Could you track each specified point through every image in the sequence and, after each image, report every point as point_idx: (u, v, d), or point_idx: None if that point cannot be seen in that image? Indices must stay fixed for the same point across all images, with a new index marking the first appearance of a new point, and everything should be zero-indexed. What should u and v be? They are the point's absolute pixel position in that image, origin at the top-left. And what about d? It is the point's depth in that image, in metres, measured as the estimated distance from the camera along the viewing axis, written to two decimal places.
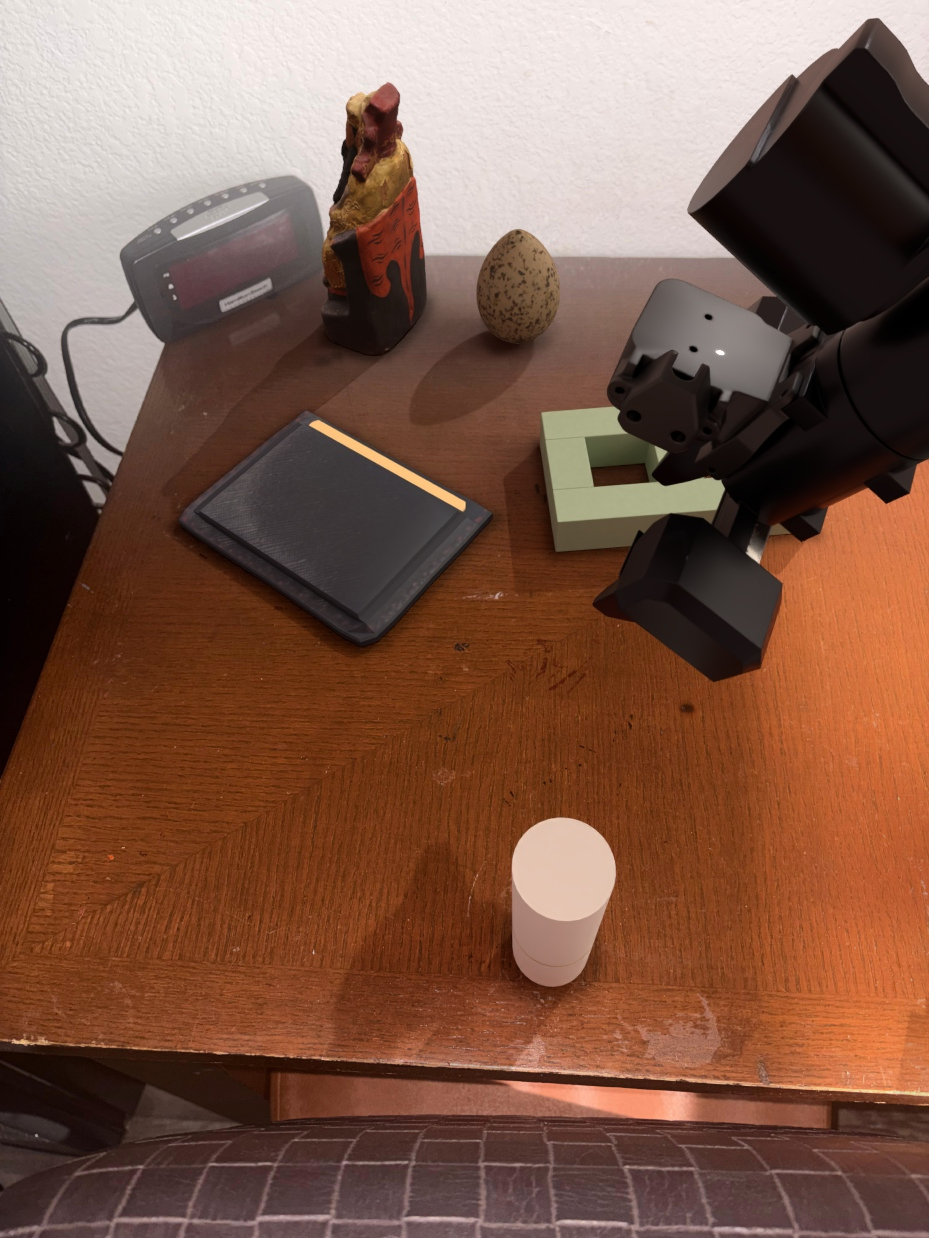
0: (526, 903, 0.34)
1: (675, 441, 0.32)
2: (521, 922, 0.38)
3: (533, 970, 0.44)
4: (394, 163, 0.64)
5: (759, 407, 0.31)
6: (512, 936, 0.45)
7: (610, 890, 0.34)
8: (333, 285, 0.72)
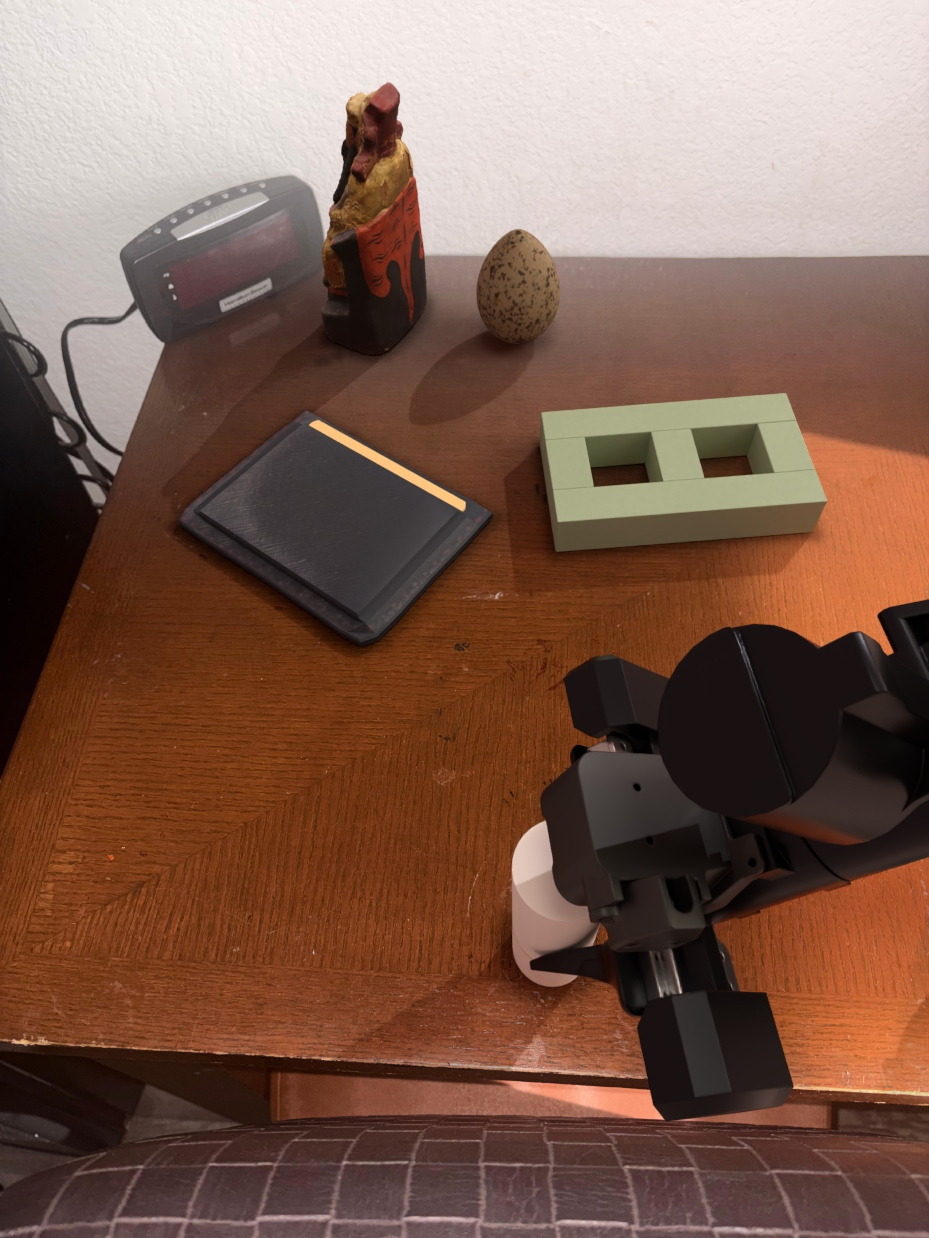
0: (526, 904, 0.34)
1: (671, 945, 0.30)
2: (521, 922, 0.38)
3: (533, 970, 0.44)
4: (394, 163, 0.64)
5: (725, 872, 0.31)
6: (512, 936, 0.45)
7: None
8: (333, 285, 0.72)
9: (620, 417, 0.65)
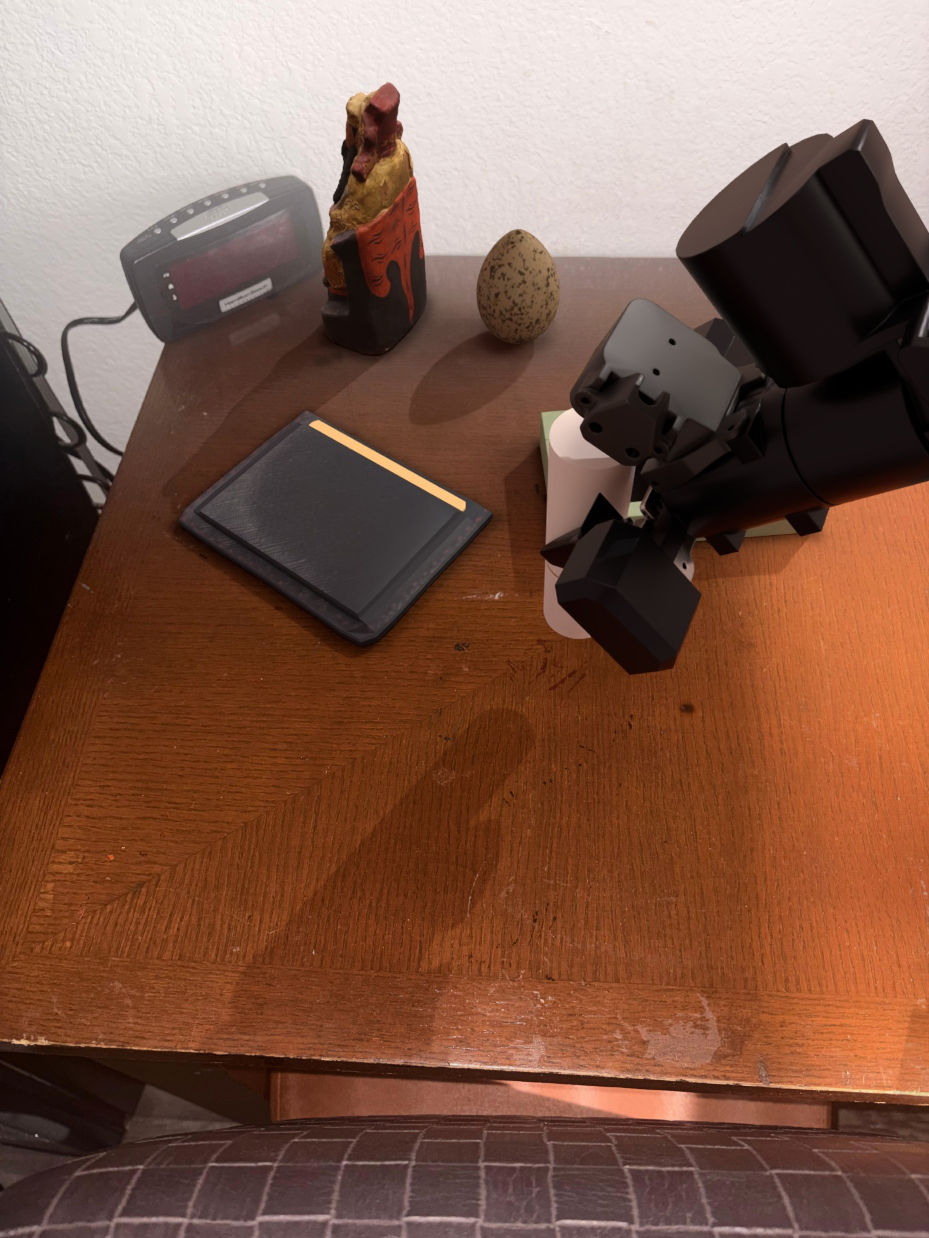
0: (550, 444, 0.40)
1: (628, 456, 0.34)
2: (547, 496, 0.44)
3: (548, 595, 0.50)
4: (394, 163, 0.64)
5: (707, 435, 0.34)
6: None
7: (619, 463, 0.39)
8: (333, 285, 0.72)
9: None
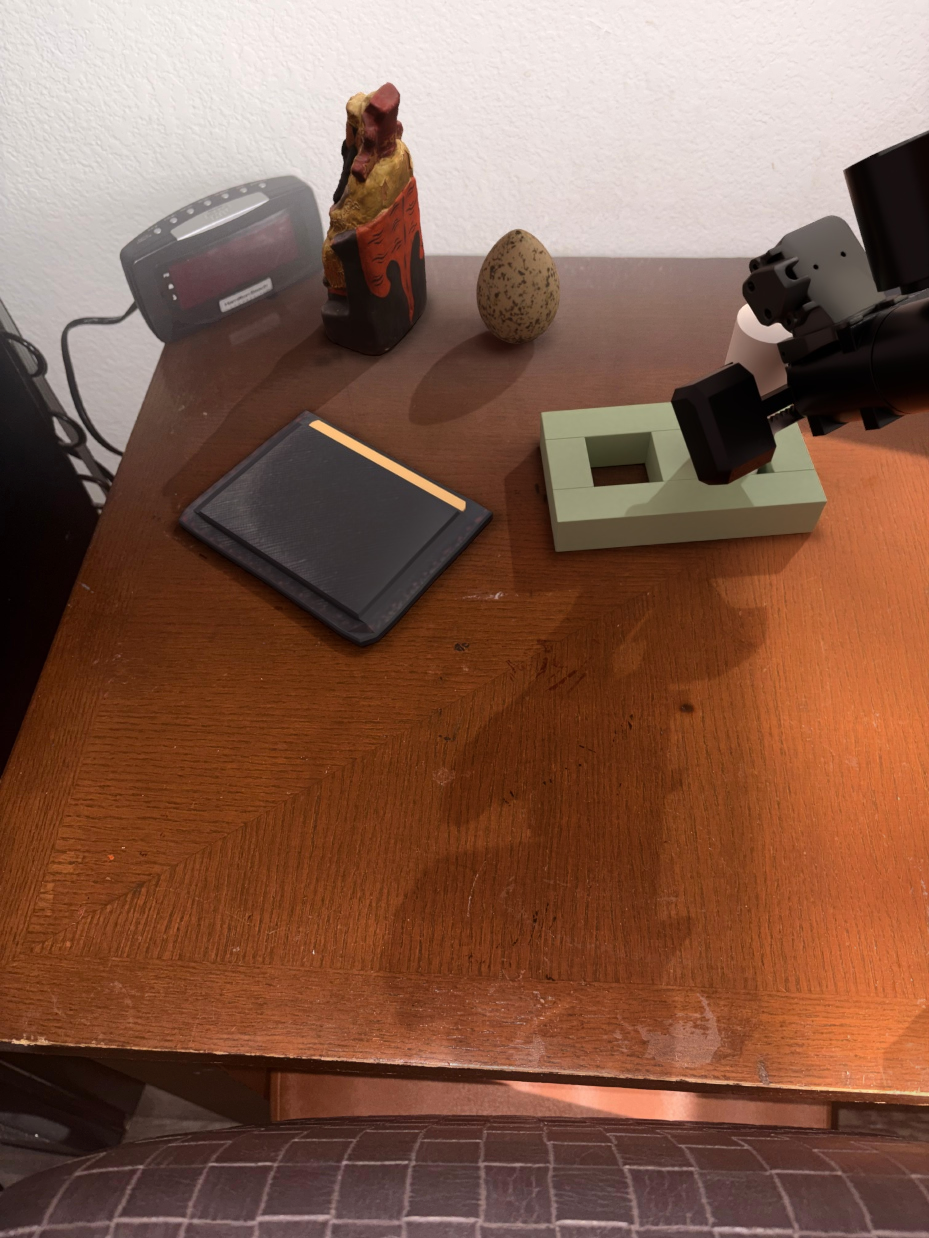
0: (738, 314, 0.53)
1: (765, 316, 0.47)
2: None
3: None
4: (394, 163, 0.64)
5: (828, 324, 0.46)
6: None
7: (776, 342, 0.51)
8: (333, 285, 0.72)
9: (620, 417, 0.65)
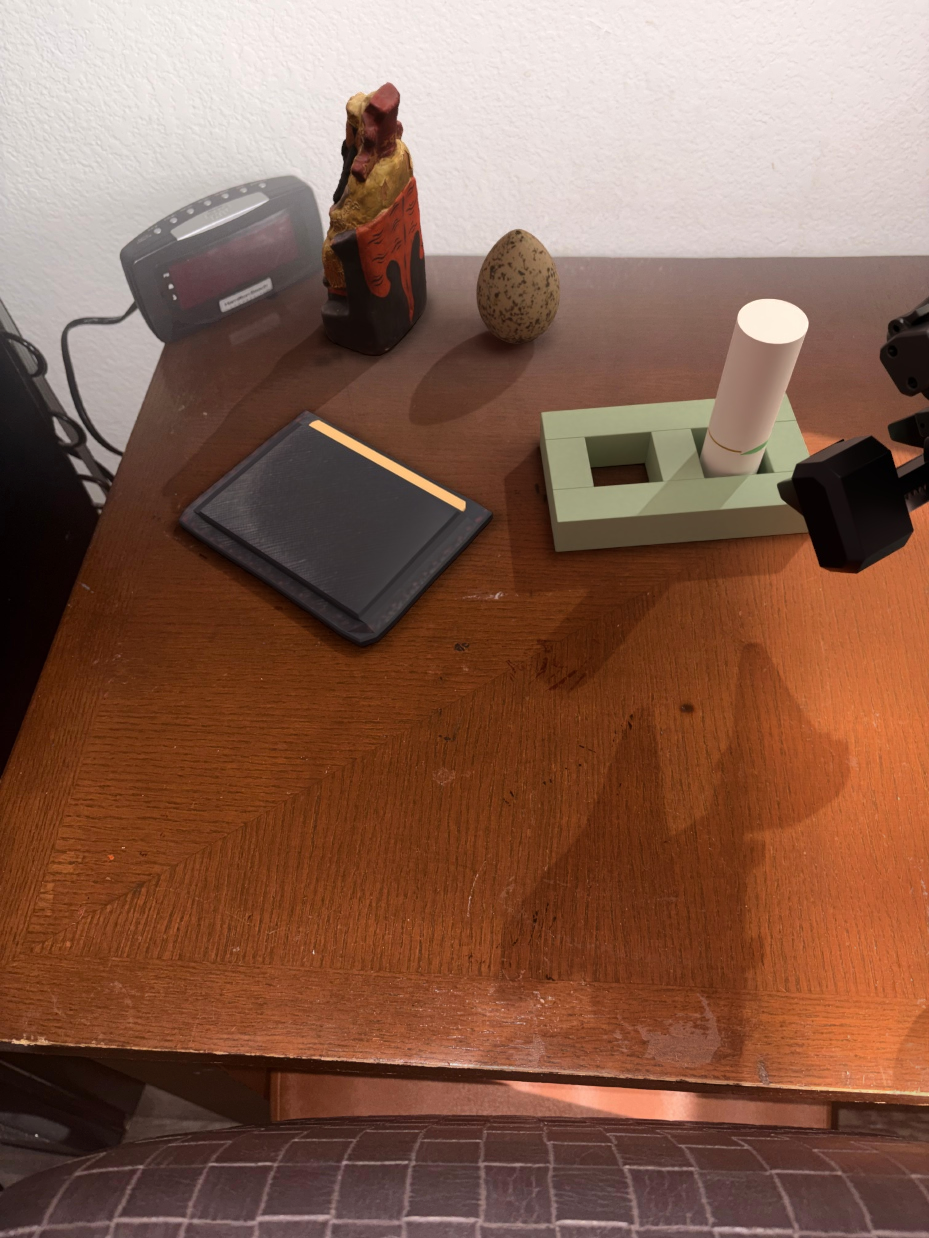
0: (738, 314, 0.53)
1: (908, 386, 0.41)
2: None
3: (701, 453, 0.63)
4: (394, 163, 0.64)
5: None
6: None
7: (777, 343, 0.51)
8: (333, 285, 0.72)
9: (620, 417, 0.65)
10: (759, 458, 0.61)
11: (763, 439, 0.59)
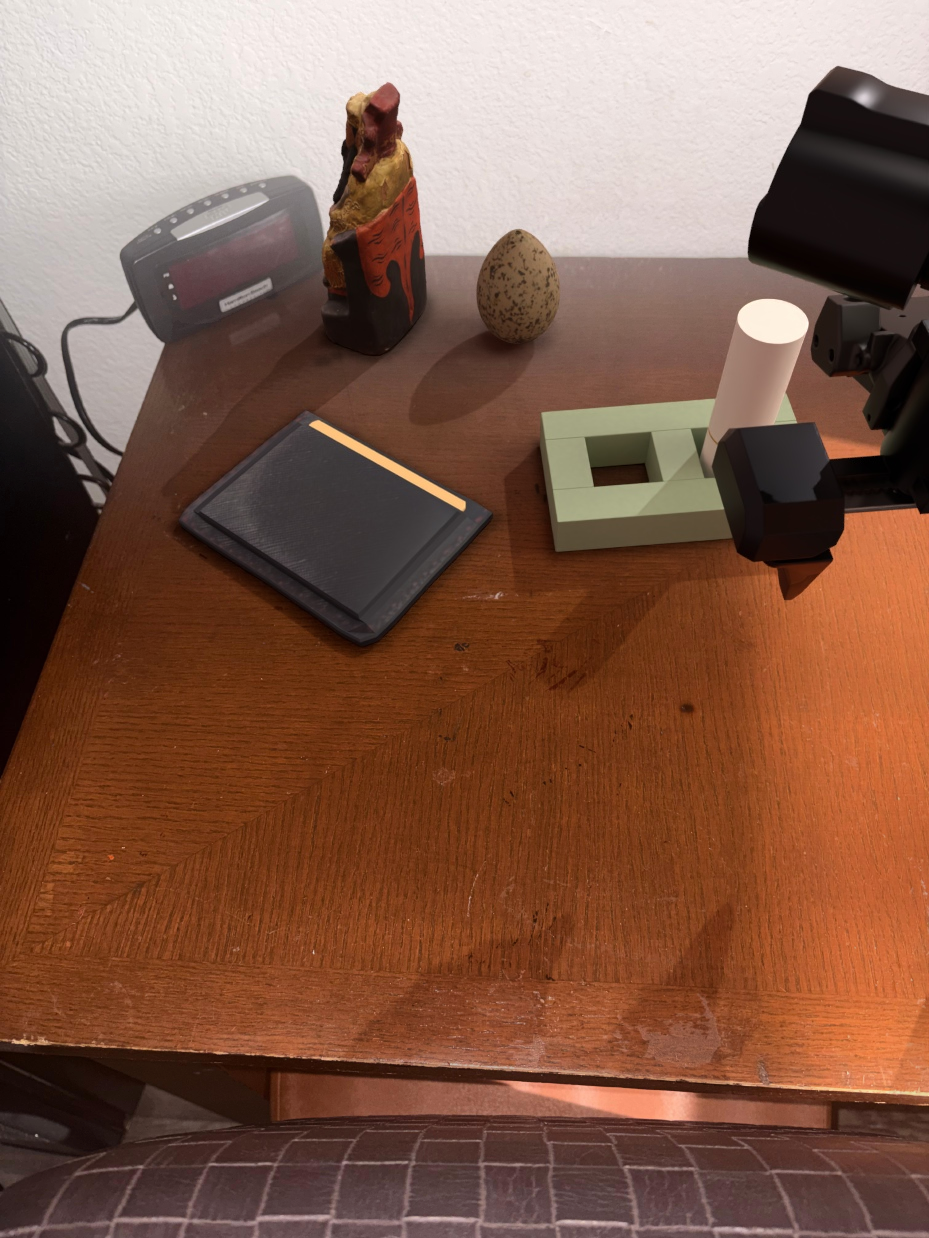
0: (738, 314, 0.53)
1: (830, 361, 0.38)
2: None
3: (701, 453, 0.63)
4: (394, 163, 0.64)
5: None
6: None
7: (777, 343, 0.51)
8: (333, 285, 0.72)
9: (620, 417, 0.65)
10: None
11: None
